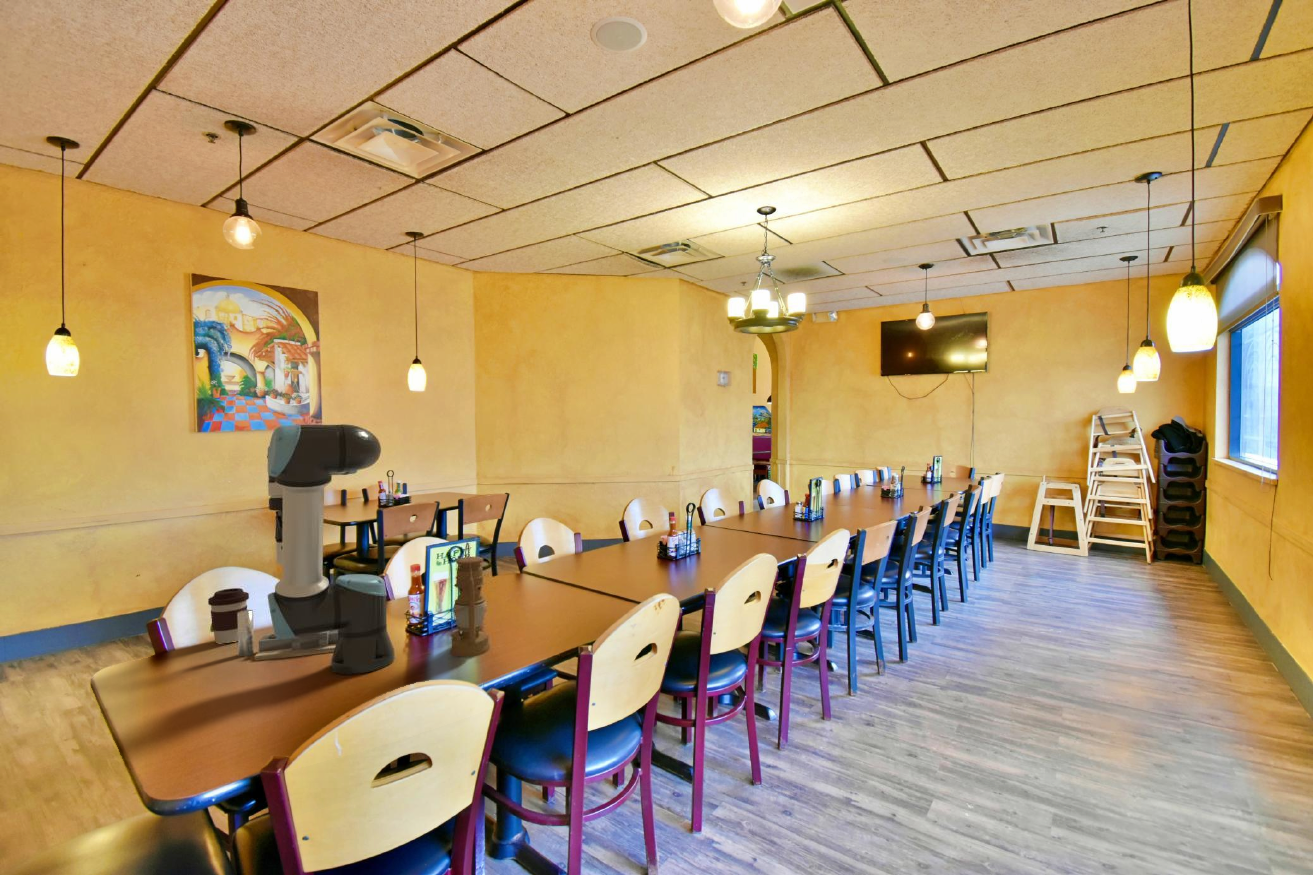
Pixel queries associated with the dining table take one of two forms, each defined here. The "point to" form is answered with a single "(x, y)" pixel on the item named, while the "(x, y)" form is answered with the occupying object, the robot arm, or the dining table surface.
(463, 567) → the lantern
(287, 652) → the chain bed
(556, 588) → the dining table surface
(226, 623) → the coffee cup
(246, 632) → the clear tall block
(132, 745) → the dining table surface
